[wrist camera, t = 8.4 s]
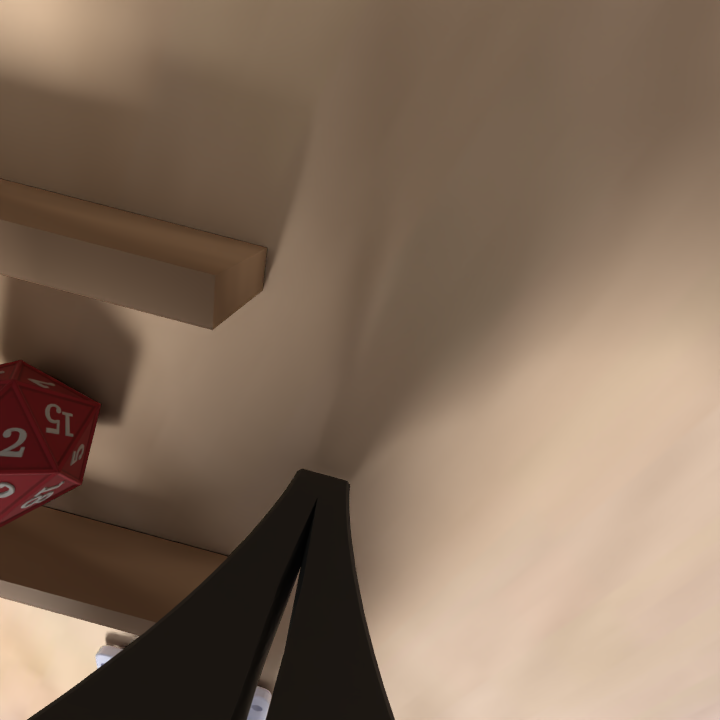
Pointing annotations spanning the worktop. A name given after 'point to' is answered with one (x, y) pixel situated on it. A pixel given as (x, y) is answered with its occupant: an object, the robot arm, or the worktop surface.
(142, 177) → the worktop surface
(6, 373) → the dice
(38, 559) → the tray frame
